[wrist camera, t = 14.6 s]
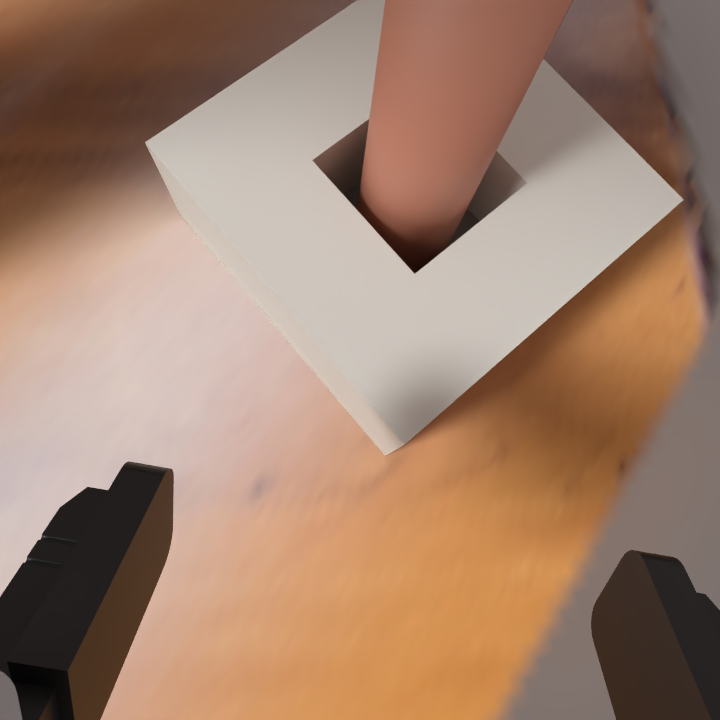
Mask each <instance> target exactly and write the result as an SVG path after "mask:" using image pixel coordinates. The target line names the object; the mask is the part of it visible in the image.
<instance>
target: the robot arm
mask: <svg viewBox="0 0 720 720" xmlns="http://www.w3.org/2000/svg"><path fill="white" fill-rule="evenodd" d="M173 484H174V475H173V470H172V469H169V468H163V467H158V466H152V465H146V464H140V463H134V462H127V463H125V464H124V465H123V467H122V468H121V470H120V471H119V473H118V475H117V477H116V478H115V480H114V482H113V483H112V485H111V487H110V488H109V490H103V489H97V488H91V487H87V488H86V489H84V490H83V491H82V492H80V493H79V494H78V495H76V496H75V497H74V498H72V499H71V500H69V501H68V502H67V503H65V504H64V505H63V506H61V507H60V508H59V510H58V511H57V513H56V514H55V516H54V517H53V519H52V520H51V522H50V523H49V525H48V526H47V528H46V529H45V531H44V532H43V534H42V538H41V540H38V541H37V543H36V544H35V546H34V547H33V549H32V550H31V552H30V553H29V555H28V556H27V560H26V562H25V563H23V564H22V565H21V567H20V568H19V570H18V571H17V573H16V574H15V576H14V577H13V579H12V580H11V582H10V583H9V585H8V586H7V588H6V589H5V591H4V592H3V594H2V595H1V597H0V720H100V719H101V717H102V714H103V712H104V709H105V707H106V705H107V702H108V700H109V697H110V695H111V693H112V690H113V688H114V685H115V683H116V681H117V678H118V676H119V673H120V671H121V669H122V666H123V664H124V661H125V659H126V657H127V654H128V652H129V649H130V647H131V645H132V642H133V640H134V637H135V635H136V633H137V630H138V628H139V625H140V623H141V621H142V618H143V616H144V613H145V611H146V609H147V606H148V604H149V601H150V599H151V597H152V594H153V592H154V589H155V587H156V585H157V582H158V580H159V577H160V575H161V573H162V570H163V568H164V565H165V562H166V560H167V556H168V553H169V549H170V545H171V539H172V532H173ZM591 628H592V637H593V641H594V645H595V648H596V651H597V655H598V658H599V662H600V665H601V669H602V672H603V676H604V679H605V682H606V686H607V689H608V692H609V696H610V699H611V703H612V706H613V710H614V713H615V716H616V720H720V610H719V609H718V608H717V607H716V606H715V605H714V604H713V602H712V601H711V600H710V599H709V598H708V597H707V596H706V595H705V594H701V593H696V591H695V589H694V587H693V585H692V583H691V580H690V578H689V576H688V574H687V572H686V570H685V568H684V566H683V565H682V563H681V562H680V561H679V560H678V559H676V558H674V557H669V556H663V555H658V554H652V553H645V552H640V551H634V550H630V551H628V552H627V553H626V554H624V556H623V557H622V559H621V561H620V562H619V564H618V566H617V567H616V569H615V571H614V572H613V574H612V576H611V577H610V579H609V581H608V583H607V584H606V586H605V587H604V589H603V591H602V592H601V594H600V596H599V597H598V599H597V601H596V603H595V605H594V608H593V612H592V619H591Z"/></svg>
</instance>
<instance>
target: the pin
mask: <svg viewBox="0 0 720 720" xmlns="http://www.w3.org/2000/svg"><path fill="white" fill-rule="evenodd" d="M572 1H573V0H385V6H384V13H383V21H382V28H381V36H380V43H379V50H378V58H377V65H376V73H375V80H374V88H373V95H372V102H371V110H370V117H369V125H368V132H367V140H366V147H365V154H364V162H363V169H362V177H361V184H360V192H359V199H358V206H357V211H358V212H359V213H360V214H361V215H362V216H363V217H364V218H365V219H366V221H367V222H368V223H369V224H370V225H371V226H372V227H373V228H374V229H375V231H376V232H377V233H378V234H379V235H380V236H381V237H382V238H383V239H384V241H385V242H386V243H387V244H388V245H389V246H390V247H391V248H392V249H393V251H394V252H395V253H396V254H397V255H398V256H399V257H400V258H401V259H402V260H403V262H404V263H405V264H406V265H407V266H408V267H409V268H410V269H411V270H412V272H413V273H414V272H418V271H419V270H420V269H422V268H423V267H424V266H425V265H427V264H428V263H429V262H430V261H432V260H433V259H434V258H435V257H436V256H438V255H439V254H440V253H441V252H443V251H444V250H445V249H446V248H447V247H448V245H449V243H450V241H451V239H452V237H453V235H454V233H455V231H456V229H457V227H458V225H459V224H460V222H461V220H462V218H463V216H464V214H465V212H466V210H467V208H468V206H469V204H470V202H471V200H472V198H473V196H474V194H475V192H476V190H477V188H478V186H479V184H480V182H481V180H482V178H483V176H484V174H485V172H486V170H487V169H488V167H489V165H490V163H491V161H492V159H493V157H494V155H495V153H496V151H497V149H498V147H499V145H500V143H501V141H502V139H503V137H504V135H505V133H506V131H507V129H508V127H509V125H510V123H511V121H512V119H513V117H514V115H515V113H516V112H517V110H518V108H519V106H520V104H521V102H522V100H523V98H524V96H525V94H526V92H527V90H528V88H529V86H530V84H531V82H532V80H533V78H534V76H535V74H536V72H537V70H538V68H539V66H540V64H541V62H542V60H543V58H544V57H545V55H546V53H547V51H548V49H549V47H550V45H551V43H552V41H553V39H554V37H555V35H556V33H557V31H558V29H559V27H560V25H561V23H562V21H563V19H564V17H565V15H566V13H567V11H568V9H569V7H570V5H571V3H572Z"/></svg>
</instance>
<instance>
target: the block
mask: <svg viewBox="0 0 720 720" xmlns="http://www.w3.org/2000/svg"><path fill="white" fill-rule="evenodd" d="M384 6H385V0H357V1H355V2H354V3H352V4H351V5H349V6H348V7H346V8H345V9H343V10H342V11H340V12H339V13H337V14H336V15H334V16H333V17H331V18H330V19H328V20H327V21H325V22H324V23H322V24H321V25H319V26H318V27H316V28H315V29H313V30H312V31H310V32H309V33H307V34H306V35H304V36H303V37H301V38H300V39H298V40H297V41H295V42H294V43H292V44H291V45H289V46H288V47H287V48H285V49H284V50H282V51H281V52H279V53H278V54H276V55H275V56H273V57H272V58H270V59H269V60H267V61H266V62H264V63H263V64H261V65H260V66H258V67H257V68H255V69H254V70H252V71H251V72H249V73H248V74H246V75H245V76H243V77H242V78H240V79H239V80H237V81H236V82H234V83H233V84H231V85H230V86H228V87H227V88H225V89H224V90H222V91H221V92H219V93H218V94H216V95H215V96H213V97H212V98H210V99H209V100H208V101H206V102H205V103H203V104H202V105H200V106H199V107H197V108H196V109H194V110H193V111H191V112H190V113H188V114H187V115H185V116H184V117H182V118H181V119H179V120H178V121H176V122H175V123H173V124H172V125H170V126H169V127H167V128H166V129H164V130H163V131H161V132H160V133H158V134H157V135H155V136H154V137H152V138H151V139H149V140H148V141H146V142H145V143H146V146H147V148H148V150H149V152H150V154H151V156H152V158H153V160H154V162H155V164H156V166H157V168H158V170H159V172H160V174H161V176H162V179H163V181H164V183H165V185H166V187H167V189H168V191H169V193H170V195H171V197H172V199H173V201H174V203H175V205H176V207H177V209H178V212H179V214H180V216H181V217H182V218H183V219H184V221H185V222H186V223H187V224H188V225H189V227H190V228H191V229H192V230H193V231H194V232H195V234H196V235H197V236H198V237H199V238H200V239H201V241H202V242H203V243H204V244H205V245H206V246H207V248H208V249H209V250H210V251H211V252H212V254H213V255H214V256H215V257H216V258H217V259H218V261H219V262H220V263H221V264H222V265H223V266H224V268H225V269H226V270H227V271H228V272H229V273H230V275H231V276H232V277H233V278H234V279H235V281H236V282H237V283H238V284H239V285H240V286H241V288H242V289H243V290H244V291H245V292H246V293H247V295H248V296H249V297H250V298H251V299H252V300H253V302H254V303H255V304H256V305H257V306H258V308H259V309H260V310H261V311H262V312H263V313H264V315H265V316H266V317H267V318H268V319H269V320H270V322H271V323H272V324H273V325H274V326H275V327H276V329H277V330H278V331H279V332H280V333H281V335H282V336H283V337H284V338H285V339H286V340H287V342H288V343H289V344H290V345H291V346H292V347H293V349H294V350H295V351H296V352H297V353H298V354H299V356H300V357H301V358H302V359H303V360H304V362H305V363H306V364H307V365H308V366H309V367H310V369H311V370H312V371H313V372H314V373H315V374H316V376H317V377H318V378H319V379H320V380H321V382H322V383H323V384H324V385H325V386H326V387H327V389H328V390H329V391H330V392H331V393H332V394H333V396H334V397H335V398H336V399H337V400H338V401H339V403H340V404H341V405H342V406H343V407H344V409H345V410H346V411H347V412H348V413H349V414H350V416H351V417H352V418H353V419H354V420H355V421H356V423H357V424H358V425H359V426H360V427H361V428H362V430H363V431H364V432H365V433H366V434H367V436H368V437H369V438H370V439H371V440H372V441H373V443H374V444H375V445H376V446H377V447H378V448H379V450H380V451H381V452H382V453H383V454H384V455H385V456H386V455H388V454H389V453H391V452H393V451H395V450H396V449H398V448H400V447H402V446H403V445H405V444H406V443H407V442H408V441H410V440H411V439H412V438H413V437H414V436H415V435H416V434H418V433H419V432H420V431H421V430H422V429H423V428H424V427H425V426H427V425H428V424H429V423H430V422H431V421H432V420H433V419H435V418H436V417H437V416H438V415H439V414H440V413H441V412H443V411H444V410H445V409H446V408H447V407H448V406H449V405H451V404H452V403H453V402H454V401H455V400H456V399H457V398H459V397H460V396H461V395H462V394H463V393H464V392H465V391H466V390H468V389H469V388H470V387H471V386H472V385H473V384H474V383H476V382H477V381H478V380H479V379H480V378H481V377H482V376H484V375H485V374H486V373H487V372H488V371H489V370H490V369H492V368H493V367H494V366H495V365H496V364H497V363H498V362H500V361H501V360H502V359H503V358H504V357H505V356H506V355H507V354H509V353H510V352H511V351H512V350H513V349H514V348H515V347H517V346H518V345H519V344H520V343H521V342H522V341H523V340H525V339H526V338H527V337H528V336H529V335H530V334H531V333H533V332H534V331H535V330H536V329H537V328H538V327H539V326H541V325H542V324H543V323H544V322H545V321H546V320H547V319H548V318H550V317H551V316H552V315H553V314H554V313H555V312H556V311H558V310H559V309H560V308H561V307H562V306H563V305H564V304H566V303H567V302H568V301H569V300H570V299H571V298H572V297H574V296H575V295H576V294H577V293H578V292H579V291H580V290H582V289H583V288H584V287H585V286H586V285H587V284H588V283H589V282H591V281H592V280H593V279H594V278H595V277H596V276H597V275H599V274H600V273H601V272H602V271H603V270H604V269H605V268H607V267H608V266H609V265H610V264H611V263H612V262H613V261H615V260H616V259H617V258H618V257H619V256H620V255H621V254H623V253H624V252H625V251H626V250H627V249H628V248H629V247H630V246H632V245H633V244H634V243H635V242H636V241H637V240H638V239H640V238H641V237H642V236H643V235H644V234H645V233H646V232H648V231H649V230H650V229H651V228H652V227H653V226H654V225H656V224H657V223H658V222H659V221H660V220H661V219H662V218H664V217H665V216H666V215H667V214H668V213H669V212H670V211H671V210H673V209H674V208H675V207H676V206H677V205H678V204H679V203H681V202H682V201H683V200H684V199H683V198H682V197H681V196H680V195H679V194H678V193H677V192H676V191H675V190H674V189H673V188H672V187H671V186H670V185H669V184H668V183H667V182H666V181H665V180H664V179H663V178H662V177H661V176H660V175H659V174H658V173H657V172H656V171H655V170H654V169H653V168H652V167H651V166H650V165H649V164H648V163H647V162H646V161H645V160H644V159H643V158H642V157H641V156H640V155H639V154H638V153H637V152H636V151H635V150H634V149H633V148H632V147H631V146H630V145H629V144H628V143H627V142H626V141H625V140H624V139H623V138H622V137H621V136H620V135H619V134H618V133H617V132H616V131H615V130H614V129H613V128H612V127H611V126H610V125H609V124H608V123H607V122H606V121H605V120H604V119H603V118H602V117H601V116H600V115H599V114H598V113H597V112H596V111H595V110H594V109H593V108H592V107H591V106H590V105H589V104H588V103H587V102H586V101H585V100H584V99H583V98H582V97H581V96H580V95H579V94H578V93H577V92H576V91H575V90H574V89H573V88H572V87H571V86H570V85H569V84H568V83H567V82H566V81H565V80H564V79H563V78H562V77H561V76H560V75H559V74H558V73H557V72H556V71H555V70H554V69H553V68H552V67H551V66H550V65H549V64H548V63H547V62H546V61H545V60H544V59H543V60H542V62H541V64H540V66H539V68H538V70H537V72H536V74H535V76H534V78H533V80H532V82H531V84H530V86H529V88H528V90H527V92H526V94H525V96H524V98H523V100H522V102H521V104H520V106H519V108H518V110H517V112H516V113H515V115H514V117H513V119H512V121H511V123H510V125H509V127H508V129H507V131H506V133H505V135H504V137H503V139H502V141H501V143H500V145H499V147H498V149H497V151H496V153H495V155H494V157H493V159H492V161H491V163H490V165H489V167H488V169H487V170H486V172H485V174H484V176H483V178H482V180H481V182H480V184H479V186H478V188H477V190H476V192H475V194H474V196H473V198H472V200H471V202H470V204H469V206H468V208H467V210H466V212H465V214H464V216H463V218H462V220H461V222H460V224H459V225H458V227H457V229H456V231H455V233H454V235H453V237H452V239H451V241H450V243H449V245H448V247H447V248H446V249H445V250H444V251H443V252H441V253H440V254H439V255H438V256H436V257H435V258H434V259H433V260H432V261H430V262H429V263H428V264H427V265H425V266H424V267H423V268H422V269H420V270H419V271H418V272H414V273H413V272H412V270H411V269H410V268H409V267H408V266H407V265H406V264H405V263H404V262H403V260H402V259H401V258H400V257H399V256H398V255H397V254H396V253H395V252H394V251H393V249H392V248H391V247H390V246H389V245H388V244H387V243H386V242H385V241H384V239H383V238H382V237H381V236H380V235H379V234H378V233H377V232H376V231H375V229H374V228H373V227H372V226H371V225H370V224H369V223H368V222H367V221H366V219H365V218H364V217H363V216H362V215H361V214H360V213H359V212H358V211H357V206H358V199H359V192H360V184H361V177H362V169H363V162H364V154H365V147H366V140H367V132H368V125H369V117H370V110H371V102H372V95H373V88H374V80H375V73H376V65H377V58H378V50H379V43H380V36H381V28H382V21H383V13H384Z"/></svg>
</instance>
